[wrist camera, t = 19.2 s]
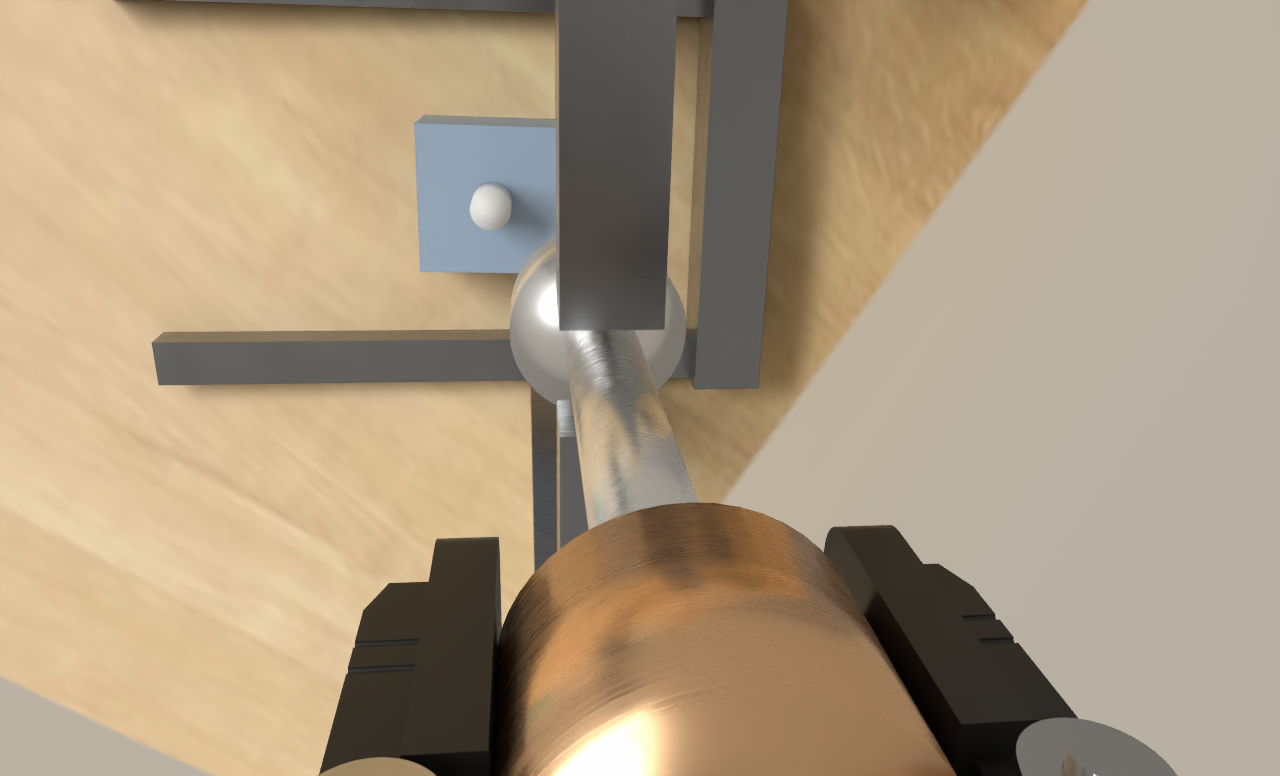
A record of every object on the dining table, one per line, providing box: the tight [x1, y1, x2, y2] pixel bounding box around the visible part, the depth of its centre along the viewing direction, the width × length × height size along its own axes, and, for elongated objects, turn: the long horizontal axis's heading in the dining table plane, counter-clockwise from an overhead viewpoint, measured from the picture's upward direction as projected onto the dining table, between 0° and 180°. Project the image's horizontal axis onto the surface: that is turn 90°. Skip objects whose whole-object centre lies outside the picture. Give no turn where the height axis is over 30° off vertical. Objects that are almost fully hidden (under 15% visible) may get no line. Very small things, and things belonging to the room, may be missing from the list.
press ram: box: [492, 237, 957, 776], centre depth 15 cm, size 4×4×17 cm
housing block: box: [414, 115, 556, 273], centre depth 40 cm, size 6×6×6 cm
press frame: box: [152, 0, 788, 573], centre depth 30 cm, size 22×27×26 cm
